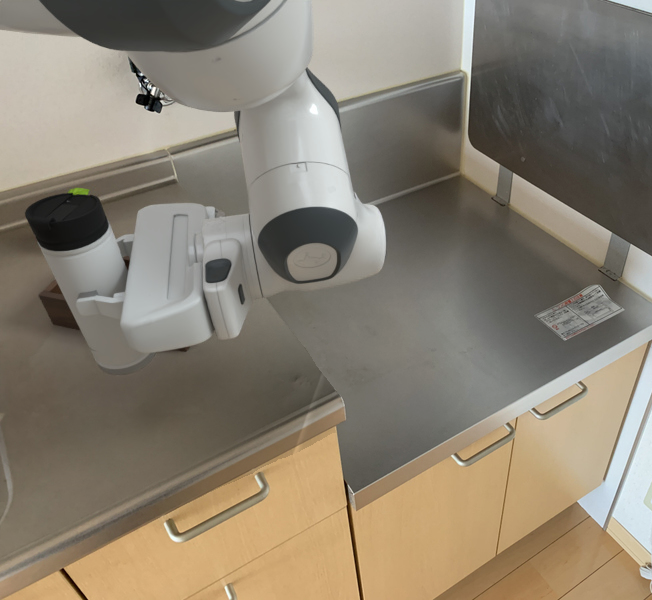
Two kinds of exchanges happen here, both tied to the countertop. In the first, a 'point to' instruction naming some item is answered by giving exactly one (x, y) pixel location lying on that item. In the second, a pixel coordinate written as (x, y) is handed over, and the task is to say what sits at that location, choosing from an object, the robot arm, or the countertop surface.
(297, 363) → the countertop surface
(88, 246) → the travel mug
